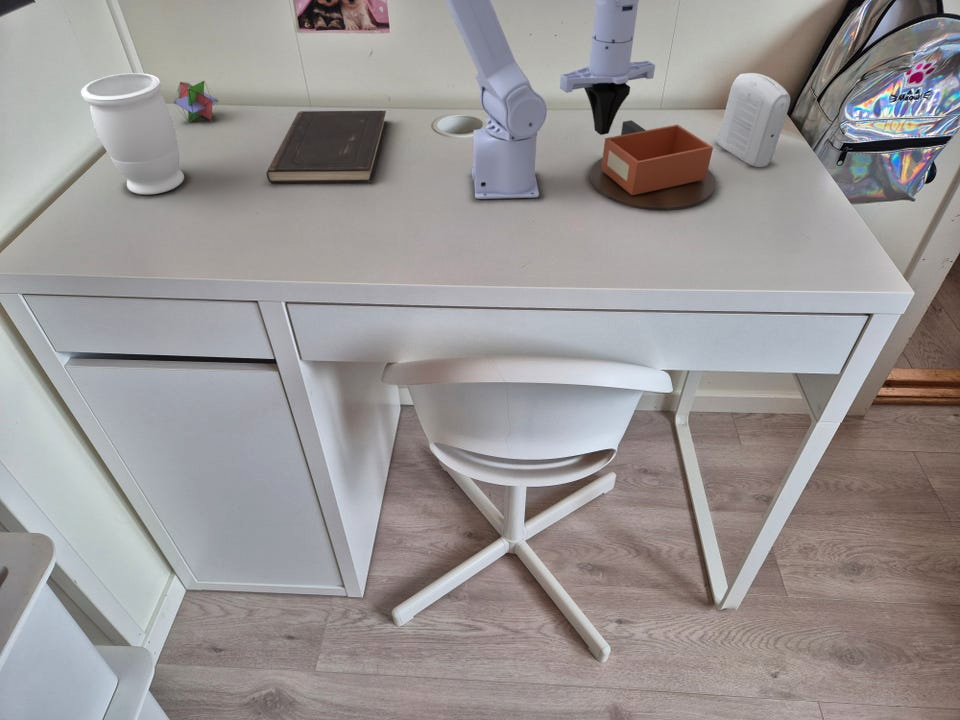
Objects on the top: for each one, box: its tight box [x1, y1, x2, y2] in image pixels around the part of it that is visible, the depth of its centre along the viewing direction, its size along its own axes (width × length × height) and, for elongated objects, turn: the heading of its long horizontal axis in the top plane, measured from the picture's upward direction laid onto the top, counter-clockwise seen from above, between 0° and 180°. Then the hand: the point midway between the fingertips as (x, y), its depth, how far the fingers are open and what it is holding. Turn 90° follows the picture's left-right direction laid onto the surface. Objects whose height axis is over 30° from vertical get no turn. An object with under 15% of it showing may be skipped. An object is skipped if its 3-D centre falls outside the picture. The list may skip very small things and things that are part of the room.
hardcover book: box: [266, 110, 388, 185], centre depth 109 cm, size 16×23×2 cm
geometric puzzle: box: [172, 80, 219, 123], centre depth 118 cm, size 7×7×8 cm
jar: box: [80, 72, 185, 196], centre depth 97 cm, size 11×10×15 cm
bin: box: [601, 119, 714, 195], centre depth 100 cm, size 13×13×5 cm
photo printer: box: [717, 72, 791, 168], centre depth 103 cm, size 10×4×12 cm, turn 23°
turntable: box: [589, 157, 717, 212], centre depth 101 cm, size 19×19×1 cm
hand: (601, 131), depth 100 cm, fingers closed
